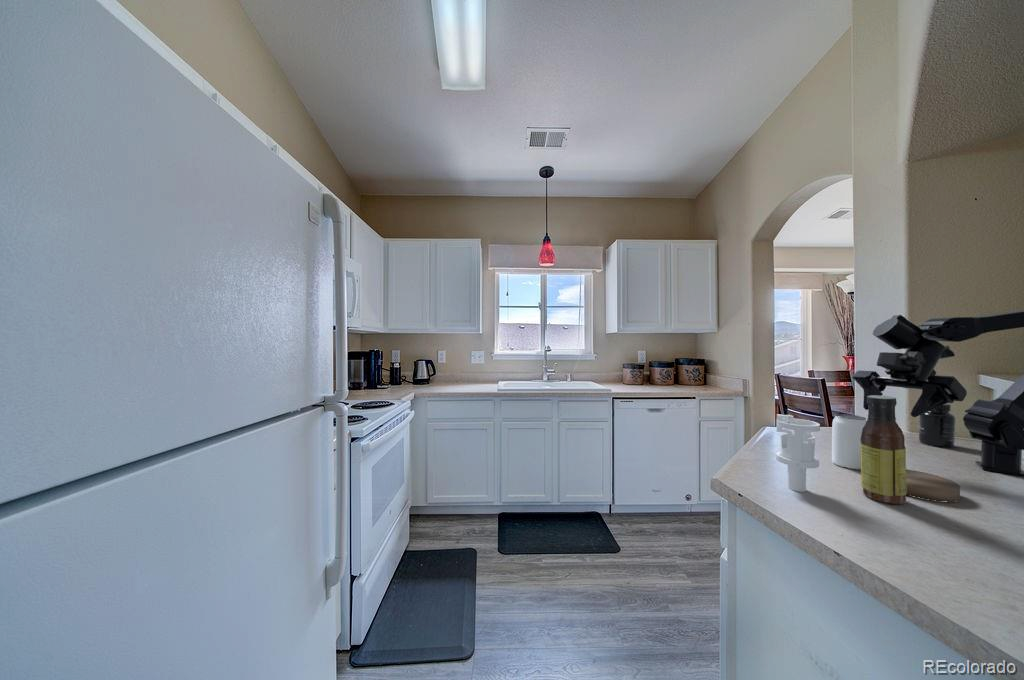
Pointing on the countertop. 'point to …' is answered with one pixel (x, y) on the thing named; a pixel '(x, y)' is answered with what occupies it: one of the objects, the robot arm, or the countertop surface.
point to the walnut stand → (931, 487)
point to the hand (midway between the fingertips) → (887, 412)
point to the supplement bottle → (937, 427)
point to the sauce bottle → (883, 453)
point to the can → (847, 440)
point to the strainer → (797, 449)
